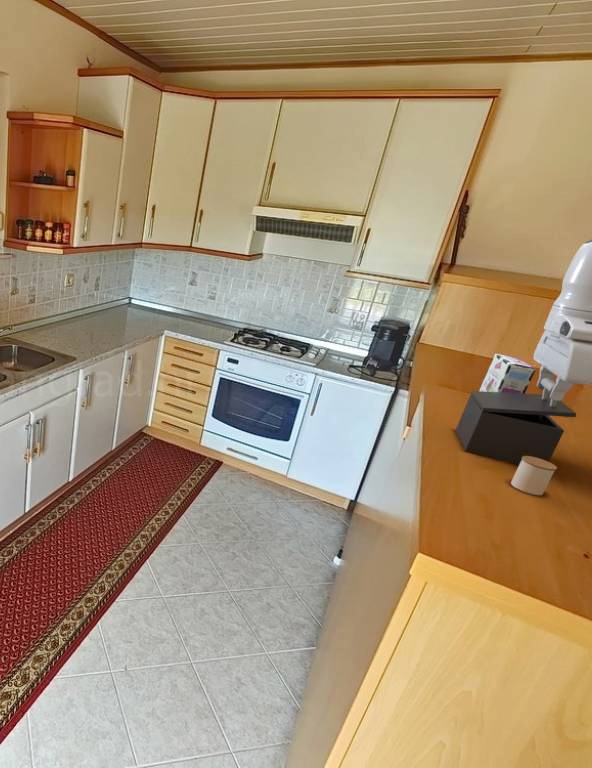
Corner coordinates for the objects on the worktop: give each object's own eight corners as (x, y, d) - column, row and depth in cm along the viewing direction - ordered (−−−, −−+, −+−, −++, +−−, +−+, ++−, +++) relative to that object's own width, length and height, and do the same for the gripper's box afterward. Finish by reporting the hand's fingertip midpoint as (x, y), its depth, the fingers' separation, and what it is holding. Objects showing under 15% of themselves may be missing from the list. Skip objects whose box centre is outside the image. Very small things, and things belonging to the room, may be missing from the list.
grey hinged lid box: (525, 448, 104) (543, 410, 101) (544, 471, 94) (564, 430, 91) (455, 430, 110) (470, 394, 107) (465, 451, 99) (482, 411, 96)
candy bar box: (506, 437, 109) (538, 368, 103) (479, 431, 111) (509, 363, 105) (491, 421, 118) (520, 357, 113) (467, 415, 120) (493, 352, 115)
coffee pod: (539, 487, 87) (552, 461, 85) (547, 498, 83) (560, 472, 81) (507, 478, 89) (519, 453, 87) (513, 489, 85) (526, 463, 83)
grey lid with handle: (553, 398, 100) (557, 374, 99) (575, 417, 89) (580, 390, 88) (470, 394, 107) (473, 371, 105) (482, 411, 96) (485, 386, 95)
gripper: (539, 314, 101) (514, 377, 105) (575, 330, 84) (543, 404, 88) (579, 319, 98) (551, 384, 103) (625, 337, 81) (589, 413, 86)
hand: (548, 394), depth 95 cm, fingers closed on grey lid with handle, 6 cm apart
